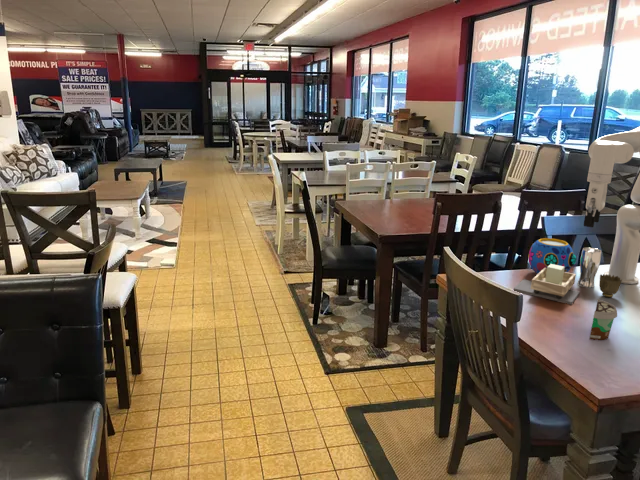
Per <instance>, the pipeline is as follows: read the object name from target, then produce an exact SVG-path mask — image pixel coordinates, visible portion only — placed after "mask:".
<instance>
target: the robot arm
mask: <svg viewBox="0 0 640 480" xmlns="http://www.w3.org/2000/svg"><path fill="white" fill-rule="evenodd" d="M635 153H639V154H640V125H639V126H638V127H635V128H633V129H631V130H629V131H624V132H623V131H621V132H618V133H612V134H607V135H604V136H601V137H599V138H597V139H595V140H594V141H593V142H591V144H590V145H589V148H588V156H589V158H590V161H589V168H588V171H587V172H588V173H587V179H586V181H587V182H589V186H588V192H587V196H586V197H587V198H586V203H585V209H586V212H585V215H584V220H583V227H587V228H594V225H595V223H599V222H600V217H601V211H602V210H603V209H604V208H605V206H606V200H607V194H608V193H607V191H608V184H611V181H612V176H613V170H614V165H615V164H625V163H628V162H630V161H631V160H632V158H633V156H634V154H635ZM630 199H631V201H632V202H634V203H636V204H640V172H639V174H638V176H637V179H636V181H635V182H634V185H633V188H632V190H631V192H630ZM639 258H640V205H635V204H624V205H623V206H620V208H619V209H618V210H617V214H616V231H615V238H614V243H613V249H612V255H611V259H610V264H609V269H608V271H605V272H604V276H605V275H606V274H607V275H609V274H610V275H611V277H612V276H613V275H614V277H615V276H618V277H620V280H621V279H622V282H621V284H624V285H635V284H637V283H639V278H638V277H637V276H636V272H637V267H638V263H639Z"/></svg>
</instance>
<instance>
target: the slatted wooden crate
mask: <svg viewBox="0 0 640 480" xmlns="http://www.w3.org/2000/svg"><path fill="white" fill-rule="evenodd" d="M546 273H547V268H544V269H543V270H541V271H540V272H539V273H538V274H537V273H536V276H534V277H533V278H532V279H531V281H532V283H531V289H533V290H534V293H536V294H538V293H539V292H540V291H542V292H546V293H550V294H554V295H556V297H557V298H558V299H561V298H562V297H564V295H565V294H566V293H567V292H568V290H571V288H572V287H573V285H574V284H575V282H576V276H577V275H576V273H573V272H569V271H568V272H564V274H563V280H562V284H561V285H558V284H553V283H549V282H545V279H546Z"/></svg>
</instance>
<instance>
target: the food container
mask: <svg viewBox="0 0 640 480" xmlns="http://www.w3.org/2000/svg"><path fill="white" fill-rule="evenodd" d="M593 313H594V314H593V318H592V323H591V330H590V333H589V334H590V335H589V340H591V341H598V342H599V341H600V342H602V341H607V340H608V339H609V337H610V334H611V329H612V326H613V323H614V320H615V318H617V317H618V310H617V307H616V306H615V305H614V304H613V303H610V302H608V301H605V300H602V299H597V301H596V307H595V311H594V312H593Z"/></svg>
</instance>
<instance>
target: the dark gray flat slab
mask: <svg viewBox="0 0 640 480" xmlns="http://www.w3.org/2000/svg"><path fill="white" fill-rule="evenodd" d="M531 283H532V280H529V279H522V280H521V281H520V282H519V283H518V284H517V285H515V286H514V287H513V290H515V291H514V292H517V291H518V292H517V293H521V294H524V295H525V294H526V295H531V296H533V297H537V298H543V299H547V300H550V301H554V302H559V303H562V304H566V303H567V305H571V306H572V305H573V303H574V302H575V301H576V299H577V298H578V297H579V295H580V291H576V290H573V289H569V290H568V292H567V293H566V294H565V295H564V297H562V298H561V299H558V298H557V297H556V295H554V294H550V293H546V292H542V291H540V292H539V293H538V294H536V293H534V290H533V289H531Z"/></svg>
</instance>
